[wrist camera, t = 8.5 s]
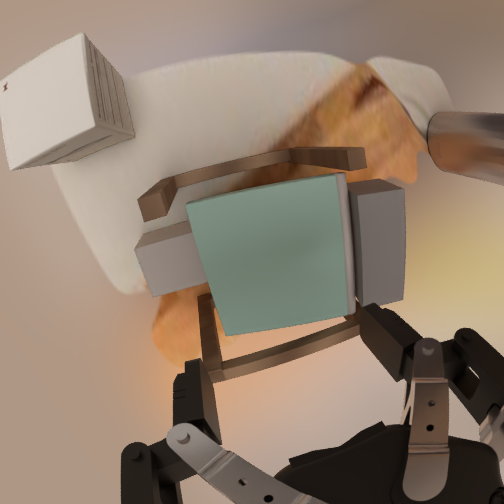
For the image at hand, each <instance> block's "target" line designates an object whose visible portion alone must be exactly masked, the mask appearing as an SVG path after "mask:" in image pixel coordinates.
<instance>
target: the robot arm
mask: <svg viewBox="0 0 504 504" xmlns="http://www.w3.org/2000/svg"><path fill="white" fill-rule="evenodd" d="M428 146H429V151H430V154H431V157H432V159H433V161H434V163H435V164H436V166H437V167H438V168H439V169H440V170H442V171H444V172H449V173H454V174H459V175H463V176H467V177H471V178H475V179H480V180H484V181H488V182H491V183H495V184H499V185H503V186H504V114H502V113H485V112H439V113H437V114H435V115H434V116H433V118H432V119H431V121H430V124H429V128H428ZM359 332H360V336H361V339H362V341H363V342H364V343H365V344H366V346H367V347H368V348H369V349H370V351H371V352H372V353H373V354H374V355H375V357H376V358H377V359H378V360H379V361H380V363H381V364H382V365H383V366H384V367H385V369H386V370H387V371H388V372H389V374H390V375H391V376H392V377H393V379H394V380H395V381H396V382H398V381H400V380H402V379H405V380H406V385H405V396H404V405H403V413H402V418H401V422H400V424H394V425H387V426H385V425H384V423H383V422H382V421H381V422H379V423H377V424H375V425H373V426H371V427H369V428H366V429H364V430H362V431H360V432H359V433H358V434H356V435H355V436H354V437H352V438H351V439H350V440H349V441H347V442H345V443H344V444H343V445H341V446H339V447H334V448H328V449H322V450H315V451H311V452H308V453H305V454H302V455H299V456H296V457H293V458H290V459H289V462H290V465H288V466H286V467H285V468H283V469H282V470H280V471H279V472H278V473H277V474H276V475H275V476H274V477H271V476H270V475H268V474H266V473H265V472H263V471H261V470H260V469H258V468H257V467H255V466H253V465H252V464H250V463H249V462H247V461H246V460H244V459H243V458H241V457H240V456H238V455H237V454H235V453H234V452H232V451H227V450H225V449H223V448H222V447H221V446H219V445H222V440H221V434H220V428H219V422H218V415H217V408H216V401H215V394H214V388H213V384H212V381H211V379H210V377H209V375H208V372H207V370H206V368H205V366H204V364H203V362H202V360H201V358H198V359H194V360H190V361H186V362H185V373H181V374H178V375H177V376H176V378H175V380H174V383H173V392H174V393H173V427H172V428H171V429H170V430H169V432H168V433H167V437H166V438H165V439H163V440H162V441H159V442H157V443H154V444H152V445H150V446H147V445H146V444H144V443H141V442H134V443H131V444H129V445H128V446H126V447H125V448H124V450H123V452H122V454H121V504H183V501H182V495H181V489H180V482H179V481H182V480H184V479H187V478H189V477H191V476H193V475H196V474H198V475H199V476H200V477H202V478H203V479H204V480H205V481H206V482H208V483H209V484H210V485H211V486H213V487H214V488H215V489H216V490H218V491H219V492H220V493H222V494H223V495H224V496H225V497H227V498H228V499H229V500H231V501H232V502H233V503H235V504H504V485H503V482H502V479H501V474H500V467H499V462H500V461H501V460H502V459H503V458H504V357H503V356H502V355H501V354H500V353H499V352H497V350H495V349H494V348H493V347H492V346H491V345H490V344H489V343H488V342H487V341H486V340H485V339H484V338H482V337H481V336H480V335H479V334H478V333H477V332H476V331H474V330H473V329H470V328H461V329H459V330H457V331H456V333H455V336H454V339H451V340H447V341H444V342H439V341H437V340H436V339H433V338H423V337H422V336H420V334H418V333H417V332H416V331H415V330H414V329H413V328H412V327H411V326H410V325H409V324H407V323H405V321H404V320H403V319H402V318H400V316H398V315H397V314H396V313H395V312H394V311H392V310H389V309H387V308H384V309H381V308H380V307H379V306H378V305H377V304H376V303H374V302H373V303H370V304H368V305H366V306H363V307H361V308H360V311H359ZM469 366H470V367H471V368H472V370H473V371H475V373H476V374H477V375H478V377H479V378H478V377H477V376H476V375H475V374H474V373H473V372H472V371H471V370H470V369H469ZM449 388H450V389H451V390H452V391H453V393H454V394H455V395H456V396H457V397H458V399H459V400H460V401H461V402H462V404H463V405H464V406H465V408H466V409H467V410H468V411H469V413H470V414H471V415H472V416H473V418H474V419H475V420H476V422H477V423H478V424H479V426H480V427H479V435H480V442H477V441H472V440H467V439H462V438H457V437H453V436H448V429H449Z"/></svg>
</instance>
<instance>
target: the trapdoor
mask: <svg viewBox="0 0 504 504" xmlns="http://www.w3.org/2000/svg"><path fill="white" fill-rule="evenodd" d="M185 207H186V210H187V214H188V217H189V221H190V224H191V228H192V231H193V235H194V238H195V242H196V245H197V248H198V252H199V255H200V258H201V261H202V265H203V268H204V271H205V274H206V278H207V281H208V284H209V287H210V290H211V293H212V296H213V299H214V302H215V305H216V308H217V311H218V314H219V317H220V320H221V323H222V326H223V329H224V332H225V335H226V336H231V335H239V334H245V333H253V332H260V331H266V330H272V329H278V328H284V327H290V326H296V325H301V324H307V323H312V322H317V321H322V320H327V319H332V318H336V317H341V316H346V315H348V314H354V313H355V312H356V299H355V295H356V297H357V299H358V301H359V303H360V305H361V307H363V306H366V305H368V304H370V303H373V302H374V303H376V304H377V305H378V306H380V305H384V304H389V303H392V302H396V301H400V300H403V294H404V279H405V257H406V221H405V220H406V218H405V194H404V189H403V188H401V187H398V186H396V185H394V184H391V183H389V182H387V181H384V180H382V179H373V180H366V181H359V182H352V183H347V182H346V175H345V173H344V172H339V173H333V174H325V175H319V176H313V177H307V178H301V179H295V180H289V181H284V182H278V183H273V184H268V185H263V186H258V187H253V188H248V189H243V190H238V191H234V192H229V193H224V194H220V195H215V196H211V197H207V198H202V199H198V200H194V201H190V202H188V203H187V204H186V205H185Z"/></svg>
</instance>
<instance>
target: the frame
mask: <svg viewBox="0 0 504 504" xmlns="http://www.w3.org/2000/svg"><path fill="white" fill-rule="evenodd" d="M287 161H288V162H291V163H299V164H307V165H314V166H321V167H328V168H334V169H340V170H346V171H353V170H359V169H364V168H367V165H366V157H365V150H364V148H361V147H296V148H290V149H285V150H280V151H274V152H269V153H264V154H260V155H255V156H250V157H246V158H241V159H237V160H233V161H229V162H224V163H220V164H216V165H212V166H208V167H205V168H201V169H197V170H193V171H190V172H186V173H183V174H179V175H176V176H172V177H169V178H165V179H162V180H160V181H159V182H158V183H157V184H155V185H154V186H153V187H152V188H150V189H149V190H148V191H147V192H146V193H144V194H143V195H142V196H141V197H140V198H138V199H137V200H138V203H139V207H140V210H141V213H142V217H143V220H144V222H147V221H150V220H153V219H157V218H160V217H163V216H166V215H167V214H168V211H169V209H170V206H171V204H172V202H173V199H174V197H175V195H176V192H177V190H178V188H180V187H183V186H187V185H190V184H194V183H198V182H201V181H205V180H209V179H213V178H216V177H220V176H224V175H228V174H232V173H237V172H241V171H245V170H249V169H254V168H258V167H263V166H267V165H272V164H277V163H282V162H287ZM215 307H216V305H215V302H214V299H213V296H212V294H211V295H210V294H205V295H202V296H198V311H199V324H200V336H201V347H202V358H203V364H204V366H205V368H206V370H207V372H208V375H209V377H210V379H211V381H212V384H213V383H217V382H221V381H225V380H228V379H232V378H236V377H240V376H243V375H247V374H250V373H254V372H257V371H261V370H264V369H267V368H270V367H274V366H277V365H280V364H283V363H286V362H289V361H292V360H295V359H298V358H300V357H304V356H306V355H309V354H312V353H315V352H317V351H320V350H323V349H325V348H328V347H331V346H333V345H336V344H338V343H341V342H343V341H346V340H348V339H350V338H353V337H355V336H358V335H360V332H359V311H360V308H361V305H360V303H359V302H358V301H357V300H356V312H355V313H354V314H348V315H346V316H343V317H344V318H345V319H346V320H347V321H345V322H343V323H340V324H337V325H335V326H332V327H330V328H327V329H324V330H321V331H319V332H316V333H313V334H310V335H308V336H305V337H302V338H299V339H296V340H293V341H290V342H287V343H284V344H281V345H278V346H275V347H272V348H268V349H265V350H262V351H258V352H255V353H252V354H248V355H245V356H241V357H238V358H234V359H230V360H227V361H222V356H221V351H220V345H219V339H218V333H217V328H216V322H215V316H214V310H213V308H215Z"/></svg>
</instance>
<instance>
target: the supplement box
mask: <svg viewBox="0 0 504 504" xmlns="http://www.w3.org/2000/svg"><path fill="white" fill-rule="evenodd" d="M0 116H1V124H2V132H3V138H4V144H5V150H6V155H7V160H8V164H9V168H10V170H11V171H13V170H18V169H24V168H30V167H36V166H42V165H50V164H57V163H65V162H74V161H77V160H79V159H81V158H83V157H85V156H87V155H89V154H91V153H94V152H96V151H98V150H101V149H103V148H106V147H108V146H111V145H113V144H116V143H119V142H122V141H125V140H128V139H131V138H134V137H135V134H134V130H133V126H132V122H131V118H130V114H129V109H128V105H127V100H126V95H125V90H124V86H123V81H122V77H121V75H120V74H119V73H118V72H117V71H116V69H115V68H114V67H113V66H112V65H111V63H110V62H108V60H107V59H106V58H105V57H104V56H103V55H102V54H101V52H100V51H99V50H98V49H97V48H96V47H95V46H94V45H93V44H92V42H91V41H90V40H89V39H88V38H87V36H86V35H85V33H83V32H82V33H78V34H76V35H74V36H72V37H70V38H68V39H66V40H64V41H62V42H61V43H58V44H57V45H55V46H53V47H51V48H49V49H48V50H46V51H44V52H42V53H41V54H39V55H37V56H35V57H34V58H32V59H31V60H29V61H28V62H26V63H25V64H23V65H22V66H21V67H19V68H17V69H16V70H14V71H13V72H11V73H10V74H9V75H7V76H6V77H5V78H3V79H2V80H0Z"/></svg>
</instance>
